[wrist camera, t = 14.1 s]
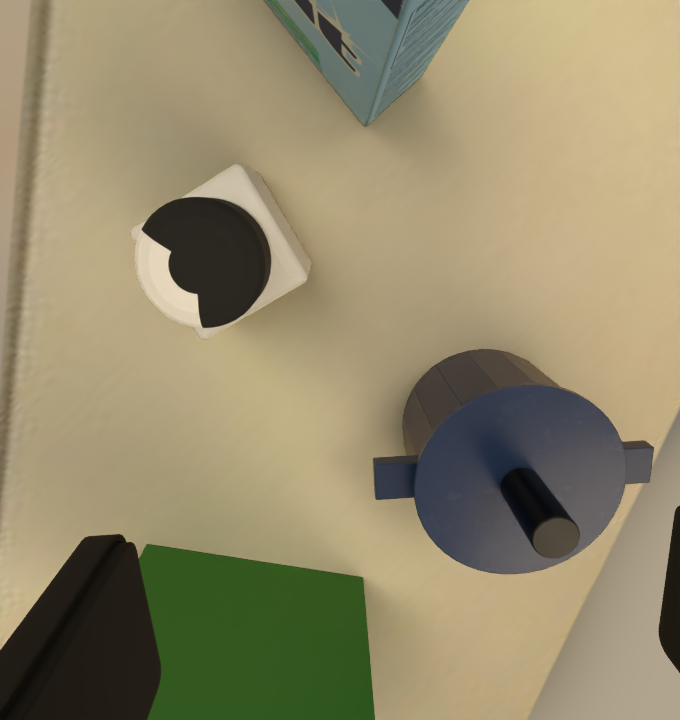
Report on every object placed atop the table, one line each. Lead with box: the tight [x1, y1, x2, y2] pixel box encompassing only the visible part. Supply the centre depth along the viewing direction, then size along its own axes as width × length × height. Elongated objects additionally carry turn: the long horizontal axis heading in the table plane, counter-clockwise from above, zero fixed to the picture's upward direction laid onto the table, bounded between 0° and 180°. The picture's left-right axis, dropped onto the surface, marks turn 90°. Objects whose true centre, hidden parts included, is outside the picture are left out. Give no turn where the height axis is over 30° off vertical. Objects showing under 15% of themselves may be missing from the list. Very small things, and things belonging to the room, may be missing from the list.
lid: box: [413, 383, 627, 574], centre depth 28 cm, size 12×12×6 cm
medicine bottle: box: [131, 164, 312, 340], centre depth 29 cm, size 7×7×12 cm
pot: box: [373, 349, 654, 500], centre depth 35 cm, size 11×17×8 cm
